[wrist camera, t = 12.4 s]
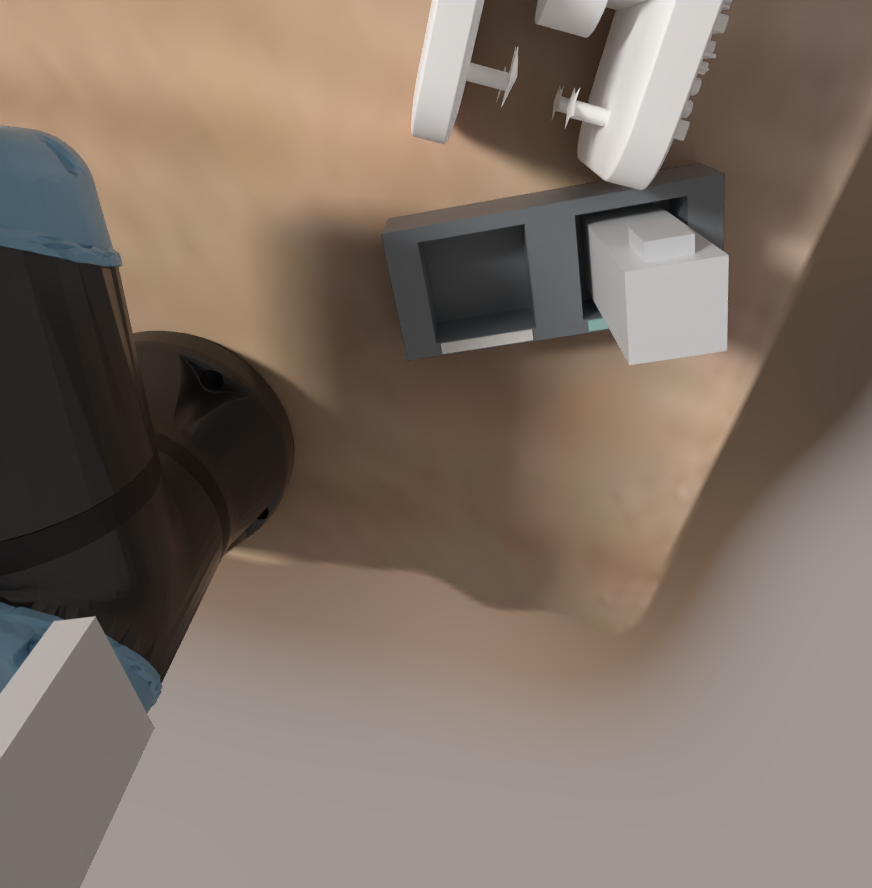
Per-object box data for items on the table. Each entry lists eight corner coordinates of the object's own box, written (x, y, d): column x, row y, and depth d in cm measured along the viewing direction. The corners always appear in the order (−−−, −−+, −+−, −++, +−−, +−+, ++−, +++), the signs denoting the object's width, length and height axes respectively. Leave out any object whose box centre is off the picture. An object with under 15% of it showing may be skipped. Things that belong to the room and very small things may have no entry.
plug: (585, 286, 40) (629, 365, 30) (579, 200, 38) (623, 252, 27) (656, 274, 40) (726, 350, 29) (654, 187, 37) (729, 234, 27)
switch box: (412, 336, 42) (407, 361, 39) (388, 218, 39) (380, 234, 36) (699, 290, 41) (723, 312, 37) (699, 163, 37) (725, 173, 34)
